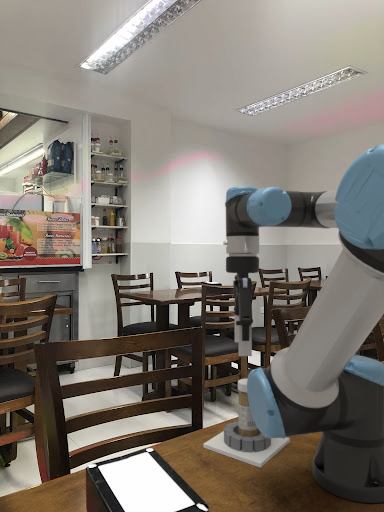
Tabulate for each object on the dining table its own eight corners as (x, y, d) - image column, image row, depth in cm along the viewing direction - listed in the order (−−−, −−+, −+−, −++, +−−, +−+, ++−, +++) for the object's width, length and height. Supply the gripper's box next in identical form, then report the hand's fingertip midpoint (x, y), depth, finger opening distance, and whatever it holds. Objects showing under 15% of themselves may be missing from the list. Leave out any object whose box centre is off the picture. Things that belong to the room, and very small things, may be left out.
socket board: (290, 442, 92) (290, 427, 92) (260, 467, 81) (260, 451, 81) (236, 426, 101) (236, 413, 101) (203, 447, 90) (203, 432, 90)
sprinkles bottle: (256, 436, 93) (256, 377, 93) (260, 446, 89) (260, 384, 88) (236, 436, 93) (236, 377, 93) (239, 446, 88) (239, 384, 88)
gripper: (223, 255, 106) (224, 337, 106) (228, 255, 81) (228, 362, 81) (253, 255, 106) (253, 337, 106) (266, 255, 81) (266, 362, 81)
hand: (242, 348), depth 93 cm, fingers open, 13 cm apart
